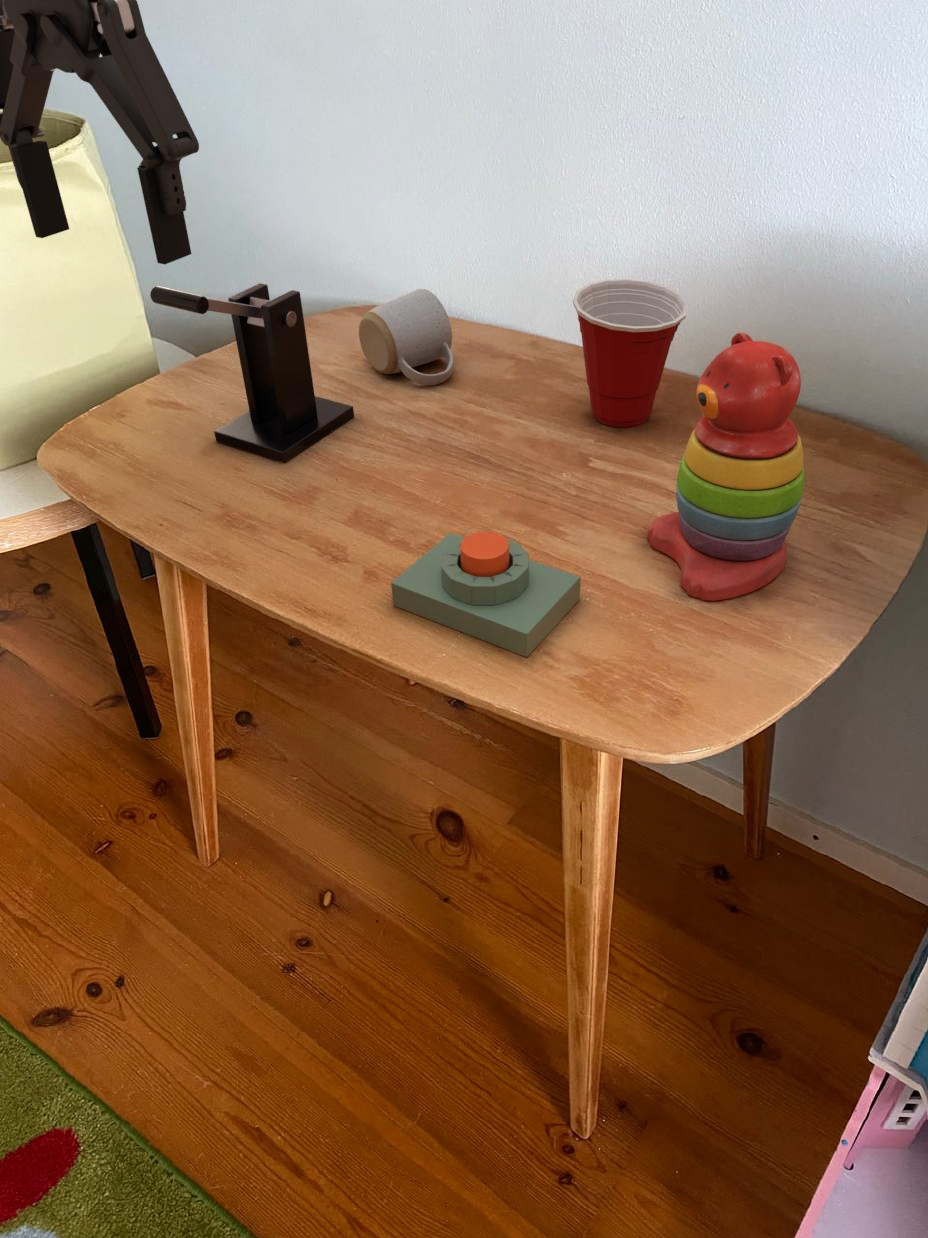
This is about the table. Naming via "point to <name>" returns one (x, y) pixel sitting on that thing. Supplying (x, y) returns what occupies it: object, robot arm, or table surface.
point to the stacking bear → (737, 474)
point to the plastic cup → (626, 345)
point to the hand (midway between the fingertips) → (111, 245)
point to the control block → (488, 596)
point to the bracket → (278, 383)
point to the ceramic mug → (408, 336)
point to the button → (484, 554)
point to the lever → (208, 304)
